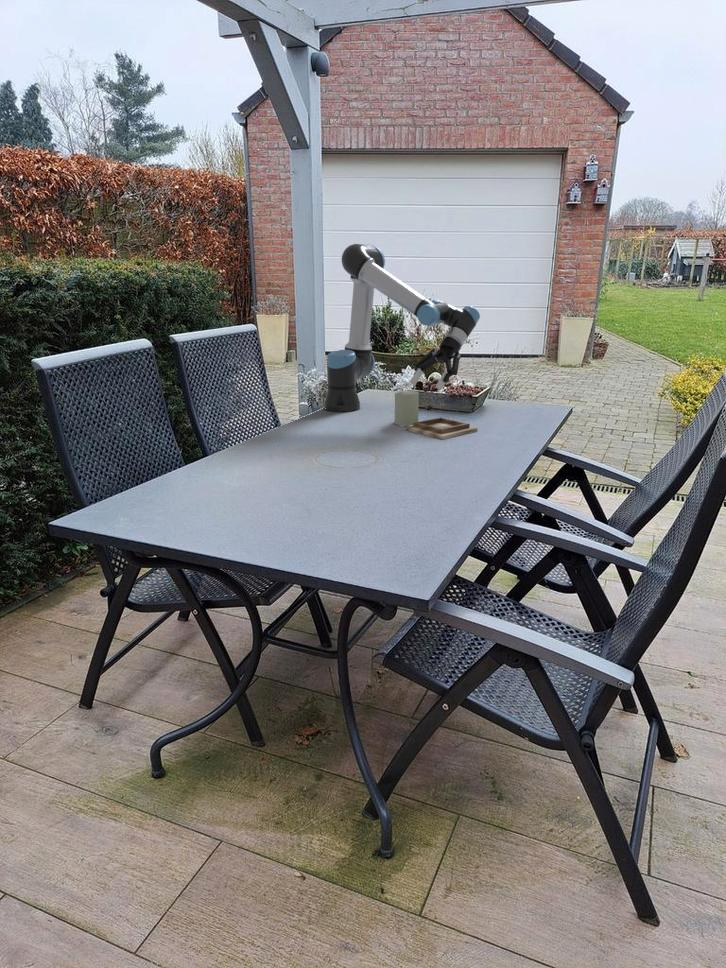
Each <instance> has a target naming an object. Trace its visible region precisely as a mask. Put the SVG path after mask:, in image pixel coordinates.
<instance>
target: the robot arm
mask: <svg viewBox="0 0 726 968" xmlns="http://www.w3.org/2000/svg"><path fill="white" fill-rule="evenodd" d="M385 263H386V259H385V255H384V252H382V250H381V249H380V248H379V247H378V246H375V245H371V244H362V243H361V244H360V243H353V244H350V245H348V246H347V247H346V248H345V249H344V251H343V252H342V255H341V264H342V265H341V266H342V268H343V269H344V271H345V272H346V273H347V274H349V275H350V280H351V281H352V283H353V288H352V300H351V301H352V302H351V311H350V314H351V315H350V322H349V323H350V324H349V336H348V342H347V343H346V344H344V349H339V350H334V351H330V352H329V353H328V354H327V357H326V359H327V360H326V374H327V392H326V395H325V399H324V402H323V409H324V410H325V411H328V410H330V412H336V411H338V412H342V411H345V412H352V411H353V412H355V411H357V410H359V409H361V402H360V399H359V396H358V393H357V388H356V386H357V384H356V383H357V381H356V380H358V379H359V380H360V379H363V378H365V377H367V376H369V375H370V374H371V373H372V372H373V370H374V369H375V364H376V362H375V356H374V355H373V347H372V345H371V344H370V337H371V328H372V327H371V326H372V316H373V314H372V313H373V307H374V306H373V305H374V293H375V289H376V290H377V291H378V292H379V293H382V294H383V295H384V296H386V297H387V298H388V299H390V300H392V301H393V302H394V303H395V304H398V305H399V307H401V308H403V309H405V310H406V311H407V312H409V313H410V314H411V315H413V316H415V317H416V318H417V320H418V321H419V323H420V324H422V325H423V326H427V327H428V326H434V325H438V324H443V325H445V326H448V327H450V328H449V330H448V331H447V333H445V336H444V338H443V339H442V341H441V342H440V344H439V348H438V350H435V349H434V348H431V350H429V352H428V353H427V354H426V355H424V357H422V358H421V359H419V361H418V362H417V363H415V364H414V367H415V368H416V370H415V371H414V373H413V376H412V377H411V379H410V381H409V383H410V384H411V386H413V387H415V386H416V385H417V383H418V382H419V381H420V379H421V377H422V375H424V371H426V370H427V369H429V368H431V367H432V366H433V365H435V364H439V363H443V364H445V369H446V370H445V371H444V372H443V373H442V376H441V377H440V378H439V380H438V382H437V383H436V384H435V388H437V389H438V391H441V390H442V389H443V387H444V386H445V385H446V383H448V382H449V379H450V378H451V377H453V376H455V377H456V376H457V375H458V371H459V364H460V360H461V357H462V354H460V350H461V349H462V347H463V346H464V344H465V343H466V341H467V340H468V337H469V336H470V334H471V333H472V332H473V330H474V329H475V328H476V326H477V323H478V322H479V320H480V317H481V315H480V312H479V310H478V309H477V308H475V307H474V306H472V305H465V306H464V307H463V308H462V309H460V308H458V307H455V306H453V305H451V304H449V303H447V302H444V301H443V300H439V299H437V298H434V299H433V300H432V301H431V300H429V299H427V298H426V297H425V296H423V295H422V294H421V293H420V292H417V291H416V290H414V289H413V288H411V286H409V285H407V284H406V283H404V282H403V281H401V280H400V279H399V278H397V277H395V276H394V275H392V274H391V273H390V272H388V271H387V270H385V269H384V268H385V266H386V265H385ZM325 408H326V409H325ZM338 412H337V413H338Z"/></svg>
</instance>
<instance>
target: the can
mask: <svg viewBox="0 0 726 968" xmlns="http://www.w3.org/2000/svg"><path fill="white" fill-rule="evenodd" d="M419 400H420V392H419V391H417V390H415V391H414V390H398V391H395V392H394V422H393V423H395V424H394V425H396V424H397V425H396V426H400V425H404V426H403V427H407V425H414V423H415V422H419V405H420V403H419ZM405 425H406V426H405Z"/></svg>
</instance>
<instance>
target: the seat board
mask: <svg viewBox="0 0 726 968" xmlns="http://www.w3.org/2000/svg"><path fill="white" fill-rule="evenodd" d="M407 430H408V431H407ZM405 431H407V432H411V431H412V432H411V433H415V432H416V434H419V433H420V434H419V435H424V436H427V437H431V438H436V439H438V440H445V439H449V438H454V436H455V437H459V436H462V435H466V434H467V433H468V434H471V433H470V432H472V433H475V431H476V432H478V427H475V426H470V423H468V422H463V421H459V420H454V419H450V418H446V417H435V418H431V419H426V420H421V421H418V422H415V423H414V425H412V426H405ZM458 435H459V436H458Z"/></svg>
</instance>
